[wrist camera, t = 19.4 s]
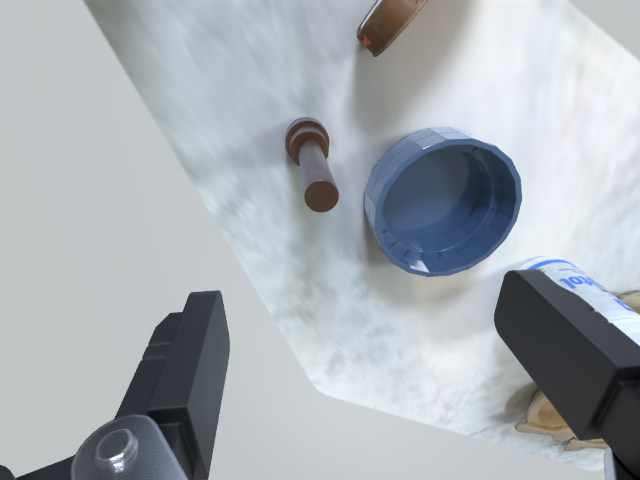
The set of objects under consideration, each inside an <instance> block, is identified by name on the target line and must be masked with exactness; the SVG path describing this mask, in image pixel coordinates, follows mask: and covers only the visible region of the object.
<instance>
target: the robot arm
mask: <svg viewBox="0 0 640 480" xmlns="http://www.w3.org/2000/svg"><path fill="white" fill-rule="evenodd" d="M494 322H495V327H496V330H497V332H498V334H499V335H500V337H501V338H502V340H503V341H504V342H505V343H506V345H507V346H508V347H509V349H510V350H511V351H512V353H513V354H514V355H515V357H516V358H517V359H518V361H519V362H520V363H521V364H522V366H523V367H524V368H525V370H526V371H527V372H528V374H529V375H530V376H531V378H532V379H533V380H534V382H535V383H536V384H537V386H538V387H539V388H540V389H541V391H542V392H543V393H544V395H545V396H546V397H547V399H548V400H549V401H550V403H551V404H552V405H553V407H554V408H555V409H556V410H557V412H558V413H559V414H560V416H561V417H562V418H563V420H564V421H565V422H566V424H567V425H568V426H569V428H570V429H571V430H572V432H573V433H574V434H575V435H576V437H577V438H578V439H579V441H585V440H594V439H603V440H604V441H605V442H606V444H607V445H608V447H607V448H606V450H605V452H604V469H605V480H640V346H639V345H638V344H637V343H636V342H634V341H633V340H632V339H631V338H630V337H628V336H627V335H626V334H625V333H624V332H622V331H621V330H620V329H619V328H617V327H616V326H615V325H614V324H613V323H609V322H608V319H607V318H605V317H604V316H603V315H602V314H601V313H599V312H598V311H595V308H593V307H592V306H591V305H590V304H589V303H587V302H586V301H585V300H584V299H582V298H581V297H580V296H579V295H577V294H575V293H573V292H571V291H569V290H567V289H565V288H563V287H561V286H560V285H558V284H556V283H555V282H554V281H553V280H552V279H550V278H549V277H548V276H547V275H546V274H545V273H543V272H542V271H541V270H539V269H526V270H512V271H508V272H507V273H506V274H505V276H504V279H503V283H502V287H501V290H500V294H499V298H498V302H497V305H496V309H495V313H494ZM229 352H230V340H229V332H228V326H227V321H226V315H225V310H224V304H223V300H222V295H221V292H220V291H219V290H218V291H204V292H192V293H190V294H189V296H188V299H187V302H186V304H185V307H184V310H183V312H177V313H170V314H169V315H168V316H167V317H166V318H165V319H164V320H163V321H162V322H161V323H160V324H159V325H158V326H157V327H156V328H155V330H154V332H153V335H152V337H151V339H150V342H149V346H148V347H147V348H146V350H145V352H144V355H143V357H142V358H143V359H142V361H140V364H139V366H138V368H137V370H136V372H135V374H134V377H133V379H132V381H131V383H130V385H129V388H128V390H127V392H126V394H125V397H124V399H123V401H122V403H121V405H120V408H119V410H118V412H117V414H116V416H115V418H114V420H112V421H110V422H108V423H106V424H104V425H103V426H101V427H100V428H98V429H97V430H96V431H95V432H94V433H92V434H91V435H90V436H89V437H88V438H87V439H86V440H85V441H84V443H83V444H82V445H81V446H80V448H79V449H78V451H77V453H76V454H75V455H73V456H72V457H69V458H67V459H65V460H62V461H60V462H57V463H54V464H52V465H49V466H46V467H44V468H41V469H39V470H36V471H33V472H31V473H28V474H26V475H23V476H20V477H18V478H15V477H14V475H13V474H12V473H11V471H10V470H9V469H8V468H6V467H5V466H2V465H0V480H208V477H209V471H210V465H211V459H212V453H213V448H214V441H215V436H216V430H217V424H218V418H219V413H220V406H221V401H222V395H223V389H224V383H225V377H226V372H227V366H228V359H229Z"/></svg>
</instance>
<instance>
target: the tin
mask: <svg viewBox="0 0 640 480" xmlns="http://www.w3.org/2000/svg"><path fill="white" fill-rule="evenodd" d="M427 1H428V0H377V1H376V3H375V4H374V6H373V7H372V8H371V10H370V11H369V13H368V14H367V16H366V17H365V18H364V20H363V21H362V23H361V24H360V26H359V28H358V30H357V38H358V40H359V41H360V42H361V43H362V44H363V45H364V46H365V47H366V48H367V49H368V50H369V51H370V52H371V53H372V54H373V56H374V57H376V56H378V55H379V54H381V53H382V52H383V51H384V50H385V49H386V48H387V47H388V46H389V45H390V44H391V43H392V42H393V41H394V40H395V39H396V38H397V37H398V36H399V34H400V33H401V32H402V31H403V30H404V29H405V28H406V27H407V25H408V24H409V23H410V22H411V21H412V19H413V18H414V17H415V16H416V15H417V13H418V12H419V11H420V10H421V8H422V7H423V6H424V5H425V3H426V2H427Z"/></svg>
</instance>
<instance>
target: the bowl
mask: <svg viewBox="0 0 640 480" xmlns="http://www.w3.org/2000/svg"><path fill="white" fill-rule="evenodd" d="M521 201H522V192H521V179H520V176H519V174H518V172H517V170H516V168H515V166H514V164H513V162H512V160H511V159H510V158H509V157H508V156H507V155H506V154H505V153H503V152H502V151H501V150H500V149H499V148H498V147H496V146H495V145H493V144H491V143H489V142H486V141H484V140H482V139H480V138H477V137H475V136H473V135H471V134H468V133H465V132H462V131H459V130H456V129H453V128H428V129H425V130H422V131H419V132H416V133H414V134H411V135H408V136H406V137H404V138H403V139H402V140H400V141H399V142H398V143H396V144H395V145H393V146H392V147H391V148H389V149H388V150H387V151H386V152H385V153H384V155H383V156H382V157H381V159H380V160H379V161H378V163H377V164H376V165H375V167H374V168H373V170H372V172H371V175H370V178H369V180H368V183H367V186H366V188H365V207H364V209H365V213H366V216H367V219H368V222H369V225H370V228H371V230H372V232H373V234H374V236H375V238H376V240H377V242H378V244H379V246H380V248H381V249H382V251H383V252H384V253H385V254H386V256H387V257H388V258H389V259H390V261H391V262H392V263H393V264H395V265H397V266H398V267H400V268H402V269H403V270H405V271H407V272H409V273H412V274H417V275H422V276H426V277H434V276H448V275H452V274H455V273H458V272H461V271H464V270H467V269H469V268H471V267H473V266H474V265H476V264H478V263H479V262H481V261H482V260H484V259H486V258H487V257H489V256H490V255H491V254H492V253H493V252H494V251H495V250H496V249H497V248H498V247H499V246H500V245H501V244H502V243H503V242H504V241H505V239H506V238H507V236H508V234H509V233H510V231H511V229H512V227H513V226H514V224H515V222H516V220H517V217H518V213H519V209H520V205H521Z"/></svg>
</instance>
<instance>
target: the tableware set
mask: <svg viewBox="0 0 640 480" xmlns="http://www.w3.org/2000/svg"><path fill="white" fill-rule="evenodd" d="M618 299H619V300H621V301H622V302H623V303H624V304H626V305H627V306H628V307H630V308H631V309H632V310H634V311H635V312H636V313H638V314H639V315H640V292H636V293H632V294H624V295H621V296H620V297H619V298H618ZM526 422H527V423H524V422H519V423H517V424H516V425H515V429H516V430H517V431H518V432H525V433H533V434H542V435H550V436H552V438H553V439H554V440H555V441H558V442H563V441H567V440H570V439H571V438H574V439H572V440H570V441H569V443H568V444H567V446H566V447H564V450H567V451H578V450H581V449H584V448H601V449H606V448H607V447H608V445H607V444H606V442H605V441H604V440H603V439H594V440H585V441H579V439H578V438H577V437H576V435H575V434H574V433H573V432H572V430H571V429H570V428H569V426H568V425H567V424H566V422H565V421H564V420H563V418H562V417H561V416H560V414H559V413H558V412H557V410H556V409H555V408H554V407H553V405H552V404H551V403H550V401H549V400H548V399H547V397H546V396H545V395H544V393H543V392H542V391H541V389H540V390H538V391H537V392H536V393H535V395H534V396H533V398H532V404H531V405H530V406H529V408H528V410H527V412H526Z"/></svg>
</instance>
